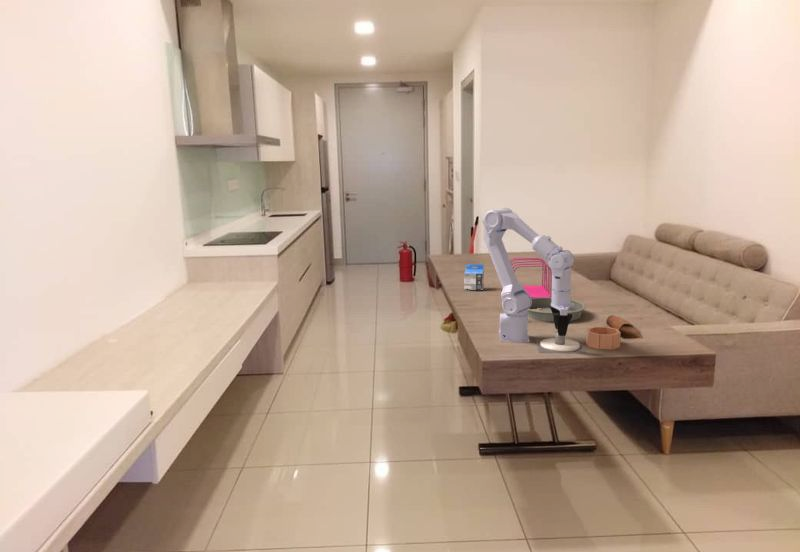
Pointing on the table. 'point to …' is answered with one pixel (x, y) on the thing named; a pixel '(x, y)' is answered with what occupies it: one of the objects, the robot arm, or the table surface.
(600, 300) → the table surface
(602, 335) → the bowl
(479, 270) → the label tape box
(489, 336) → the table surface
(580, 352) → the mat
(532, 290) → the file sorter
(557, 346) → the lid
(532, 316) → the cake pan
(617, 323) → the sunglasses case
